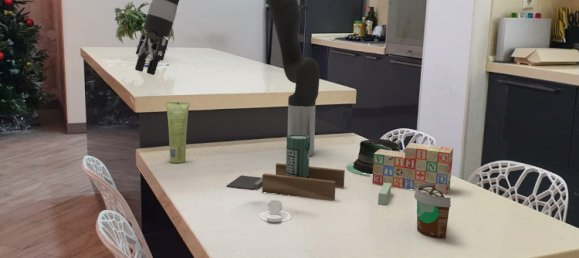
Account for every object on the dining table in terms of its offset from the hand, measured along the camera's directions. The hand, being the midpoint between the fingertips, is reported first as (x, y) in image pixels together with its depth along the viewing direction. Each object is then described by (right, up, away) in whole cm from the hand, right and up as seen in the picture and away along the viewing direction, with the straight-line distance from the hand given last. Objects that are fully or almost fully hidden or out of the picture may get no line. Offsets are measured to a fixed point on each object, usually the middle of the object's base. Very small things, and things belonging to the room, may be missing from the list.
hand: (144, 72), depth 170 cm
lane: (+45, -33, -2) cm, 56 cm away
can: (+43, -33, -1) cm, 54 cm away
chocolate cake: (+69, -29, +21) cm, 78 cm away
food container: (+73, -40, -31) cm, 88 cm away
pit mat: (+29, -31, +3) cm, 43 cm away
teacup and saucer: (+35, -38, -24) cm, 57 cm away
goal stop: (+66, -35, -8) cm, 75 cm away
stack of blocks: (+76, -33, +3) cm, 83 cm away
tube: (+5, -27, +24) cm, 36 cm away
